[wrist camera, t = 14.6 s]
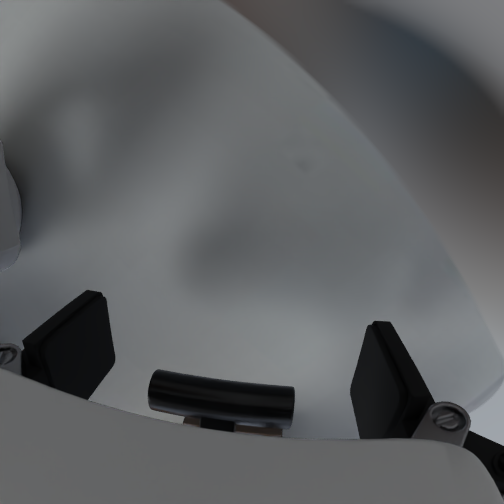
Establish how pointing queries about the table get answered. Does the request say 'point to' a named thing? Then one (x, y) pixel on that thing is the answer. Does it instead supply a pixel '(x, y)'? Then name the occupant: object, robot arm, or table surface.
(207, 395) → the door handle
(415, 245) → the table surface
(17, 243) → the cable organizer
